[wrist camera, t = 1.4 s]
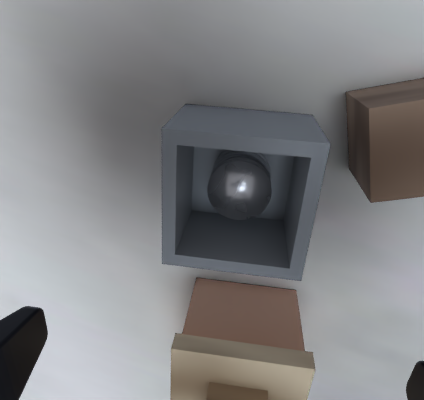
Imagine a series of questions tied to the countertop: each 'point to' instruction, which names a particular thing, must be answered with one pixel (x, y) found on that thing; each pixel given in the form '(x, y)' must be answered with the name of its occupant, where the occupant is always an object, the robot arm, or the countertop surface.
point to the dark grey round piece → (240, 184)
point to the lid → (237, 370)
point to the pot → (245, 314)
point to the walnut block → (387, 140)
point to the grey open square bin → (251, 228)
